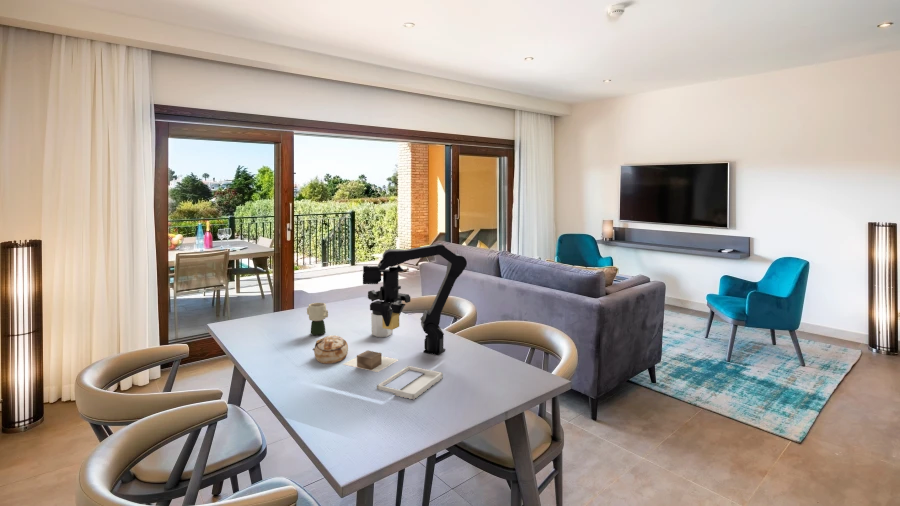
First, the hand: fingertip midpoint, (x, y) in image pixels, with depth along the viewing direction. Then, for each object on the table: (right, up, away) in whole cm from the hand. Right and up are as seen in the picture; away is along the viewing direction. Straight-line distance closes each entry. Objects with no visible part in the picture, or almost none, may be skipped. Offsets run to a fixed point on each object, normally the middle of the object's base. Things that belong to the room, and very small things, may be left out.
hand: (391, 324), depth 172 cm
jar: (-7, -8, +25) cm, 27 cm away
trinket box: (-21, -12, -3) cm, 25 cm away
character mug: (-34, -8, +24) cm, 43 cm away
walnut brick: (-6, -12, -12) cm, 18 cm away
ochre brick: (0, -1, 0) cm, 1 cm away
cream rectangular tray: (+10, -15, -25) cm, 31 cm away
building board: (-6, -13, -9) cm, 16 cm away
